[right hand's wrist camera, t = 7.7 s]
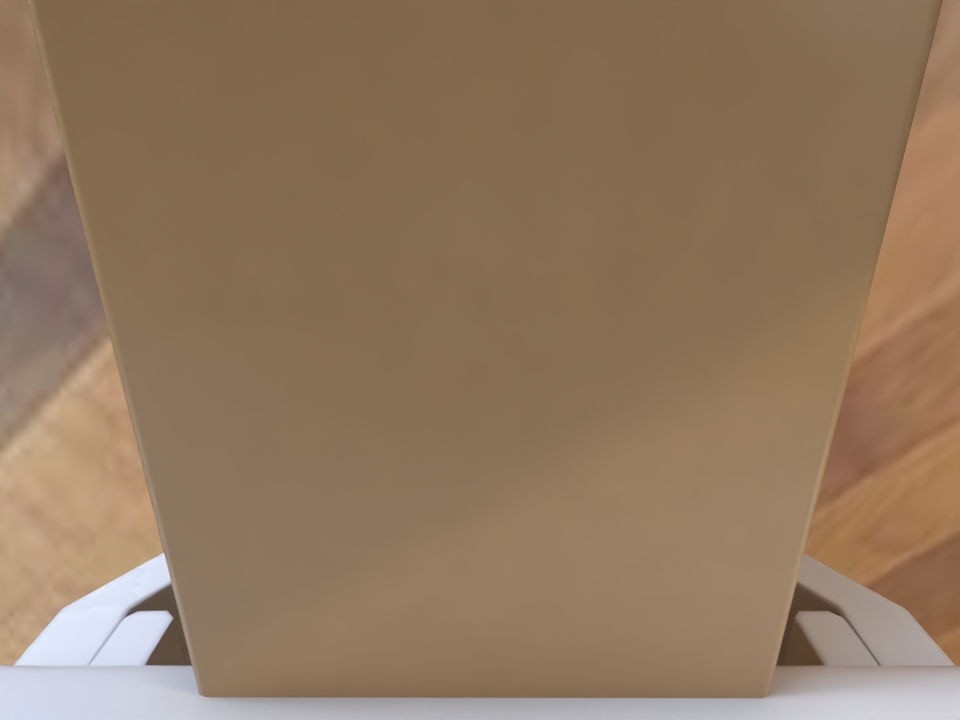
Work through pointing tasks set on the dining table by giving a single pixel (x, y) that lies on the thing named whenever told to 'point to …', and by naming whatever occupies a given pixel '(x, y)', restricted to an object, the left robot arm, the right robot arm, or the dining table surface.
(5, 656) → the dining table surface
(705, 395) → the bar
